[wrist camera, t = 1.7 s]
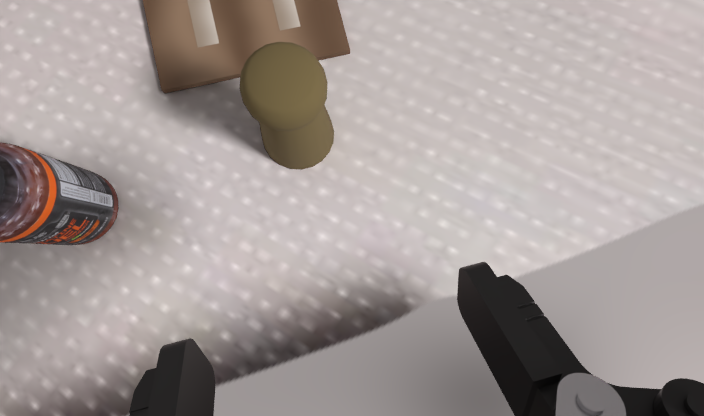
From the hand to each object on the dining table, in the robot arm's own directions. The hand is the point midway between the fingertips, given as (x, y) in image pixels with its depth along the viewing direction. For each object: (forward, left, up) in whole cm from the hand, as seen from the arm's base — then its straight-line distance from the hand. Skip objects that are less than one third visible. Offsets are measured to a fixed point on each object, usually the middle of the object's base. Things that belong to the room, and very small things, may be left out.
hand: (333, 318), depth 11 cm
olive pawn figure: (0, -12, -20) cm, 23 cm away
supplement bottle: (+18, -10, -20) cm, 29 cm away
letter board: (+2, -26, -20) cm, 33 cm away
